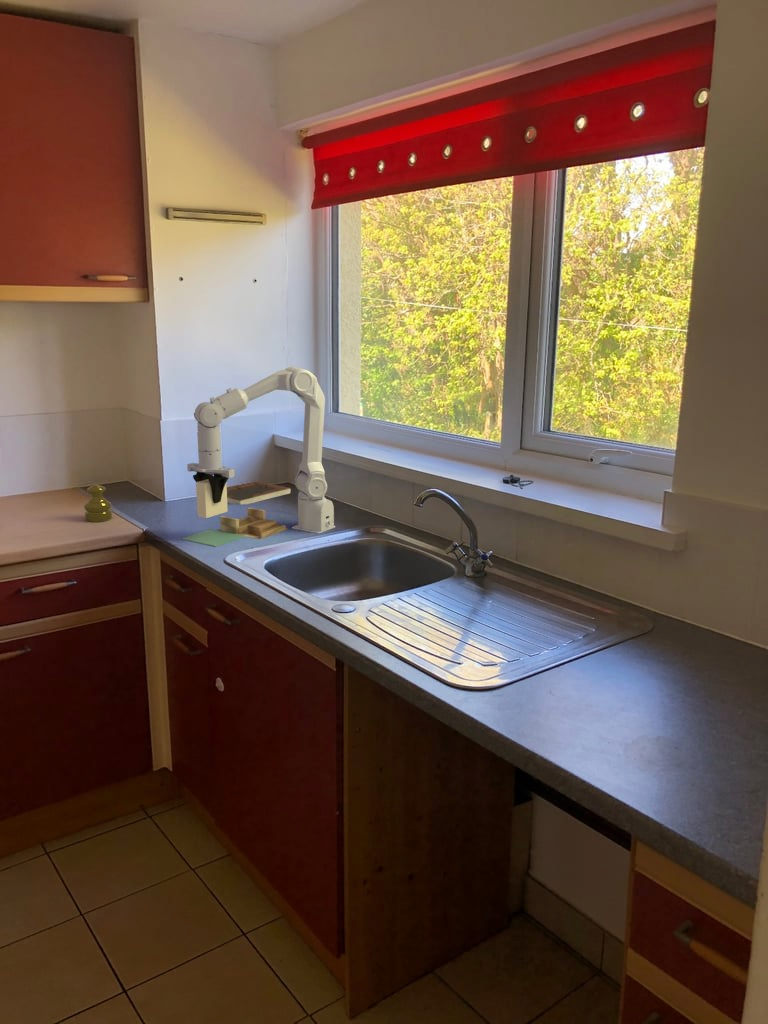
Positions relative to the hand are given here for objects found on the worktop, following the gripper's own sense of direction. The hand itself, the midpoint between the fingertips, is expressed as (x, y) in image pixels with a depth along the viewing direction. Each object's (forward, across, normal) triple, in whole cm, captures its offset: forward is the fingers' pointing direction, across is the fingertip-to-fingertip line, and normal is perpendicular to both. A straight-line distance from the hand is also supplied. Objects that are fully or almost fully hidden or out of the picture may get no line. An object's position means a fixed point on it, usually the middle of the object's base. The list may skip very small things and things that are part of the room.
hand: (211, 501), depth 217 cm
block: (+3, 0, 0) cm, 3 cm away
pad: (+10, 0, 0) cm, 10 cm away
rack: (+10, +4, +12) cm, 16 cm away
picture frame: (+11, -25, +42) cm, 51 cm away
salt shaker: (+10, -41, -3) cm, 42 cm away
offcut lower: (+10, +7, +12) cm, 17 cm away
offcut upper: (+9, +7, +12) cm, 16 cm away
